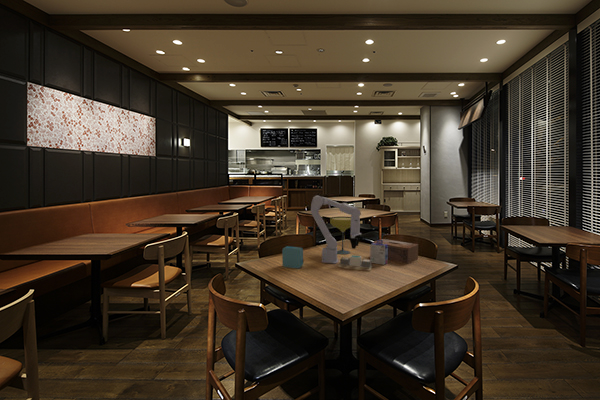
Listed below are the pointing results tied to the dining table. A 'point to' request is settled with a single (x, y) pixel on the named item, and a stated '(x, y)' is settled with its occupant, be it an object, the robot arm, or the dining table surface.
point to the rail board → (355, 267)
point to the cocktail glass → (341, 228)
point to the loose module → (355, 260)
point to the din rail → (356, 266)
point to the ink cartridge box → (379, 253)
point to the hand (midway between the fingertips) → (355, 247)
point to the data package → (292, 257)
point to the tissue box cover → (401, 251)
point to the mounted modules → (363, 263)
